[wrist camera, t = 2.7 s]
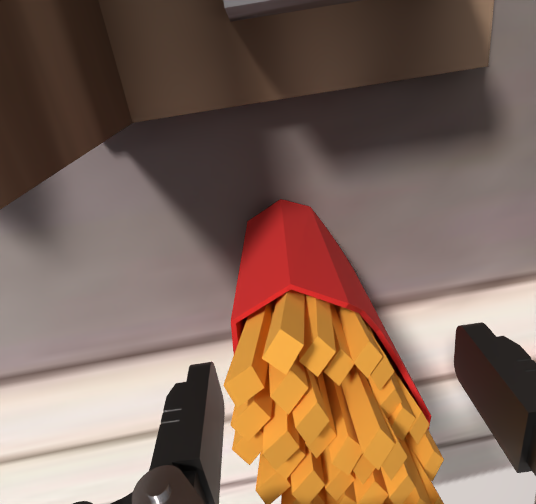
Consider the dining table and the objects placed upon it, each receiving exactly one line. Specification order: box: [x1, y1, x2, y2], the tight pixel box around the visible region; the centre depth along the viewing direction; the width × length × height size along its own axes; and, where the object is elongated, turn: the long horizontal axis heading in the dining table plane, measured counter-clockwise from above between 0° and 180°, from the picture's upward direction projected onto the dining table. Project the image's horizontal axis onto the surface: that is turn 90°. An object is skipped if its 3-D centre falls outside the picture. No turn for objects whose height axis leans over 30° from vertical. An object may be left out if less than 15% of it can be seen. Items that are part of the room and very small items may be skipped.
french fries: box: [224, 199, 444, 504], centre depth 16 cm, size 9×4×13 cm, turn 35°
